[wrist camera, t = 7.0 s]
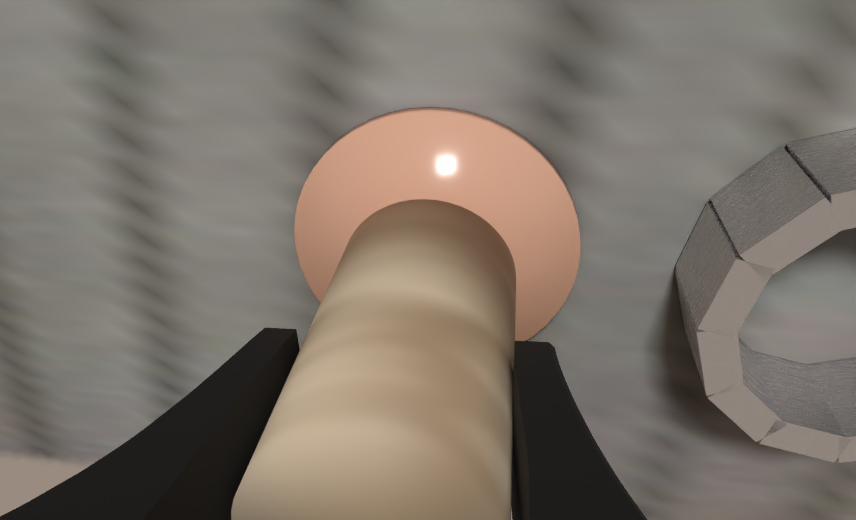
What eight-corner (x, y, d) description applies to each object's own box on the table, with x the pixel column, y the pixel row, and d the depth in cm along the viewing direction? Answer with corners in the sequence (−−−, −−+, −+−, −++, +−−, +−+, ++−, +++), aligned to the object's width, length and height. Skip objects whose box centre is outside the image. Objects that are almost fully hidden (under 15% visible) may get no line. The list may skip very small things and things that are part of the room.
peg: (553, 280, 15) (570, 560, 9) (433, 372, 17) (384, 654, 11) (421, 163, 14) (346, 395, 8) (308, 274, 16) (180, 529, 10)
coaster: (640, 247, 16) (643, 255, 16) (443, 392, 19) (441, 402, 19) (426, 40, 14) (423, 44, 14) (246, 239, 18) (240, 247, 17)
